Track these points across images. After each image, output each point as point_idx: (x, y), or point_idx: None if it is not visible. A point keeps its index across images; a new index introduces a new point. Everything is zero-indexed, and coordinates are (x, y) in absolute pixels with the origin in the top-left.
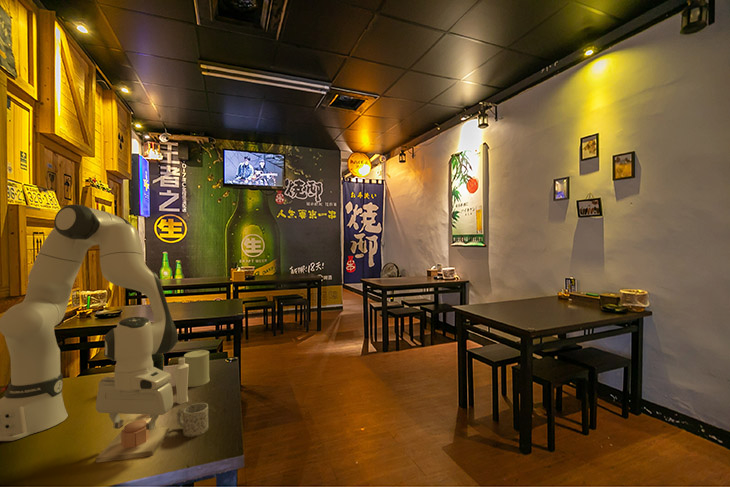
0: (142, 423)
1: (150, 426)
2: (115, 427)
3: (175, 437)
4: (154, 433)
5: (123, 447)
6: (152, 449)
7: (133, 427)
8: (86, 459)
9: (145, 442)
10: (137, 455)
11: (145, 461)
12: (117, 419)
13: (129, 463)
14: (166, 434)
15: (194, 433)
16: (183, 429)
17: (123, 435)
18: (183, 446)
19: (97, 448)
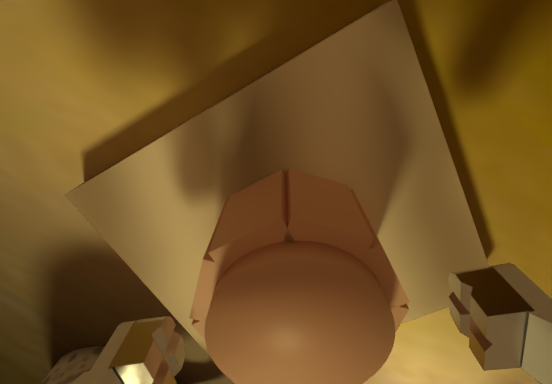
0: (249, 365)
1: (104, 347)
2: (492, 271)
3: None
4: None
5: (303, 170)
6: (82, 205)
7: (264, 304)
8: (504, 13)
9: None
10: (146, 145)
11: (57, 124)
12: (549, 357)
13: (132, 75)
14: None
15: (54, 368)
16: None
17: (315, 215)
18: (18, 285)
19: (533, 142)
